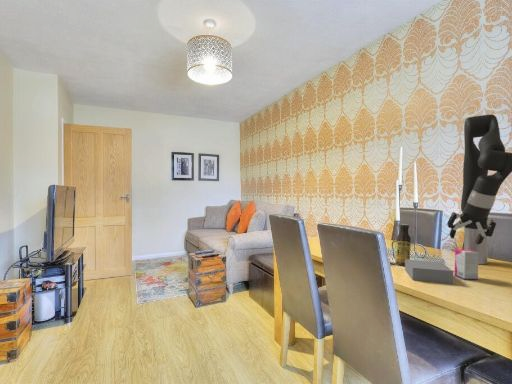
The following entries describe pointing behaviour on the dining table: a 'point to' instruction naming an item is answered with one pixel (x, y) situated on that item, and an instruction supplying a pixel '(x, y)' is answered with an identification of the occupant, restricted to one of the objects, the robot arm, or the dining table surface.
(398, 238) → the sauce bottle
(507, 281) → the dining table surface
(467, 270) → the supplement box
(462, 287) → the dining table surface
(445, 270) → the podium
